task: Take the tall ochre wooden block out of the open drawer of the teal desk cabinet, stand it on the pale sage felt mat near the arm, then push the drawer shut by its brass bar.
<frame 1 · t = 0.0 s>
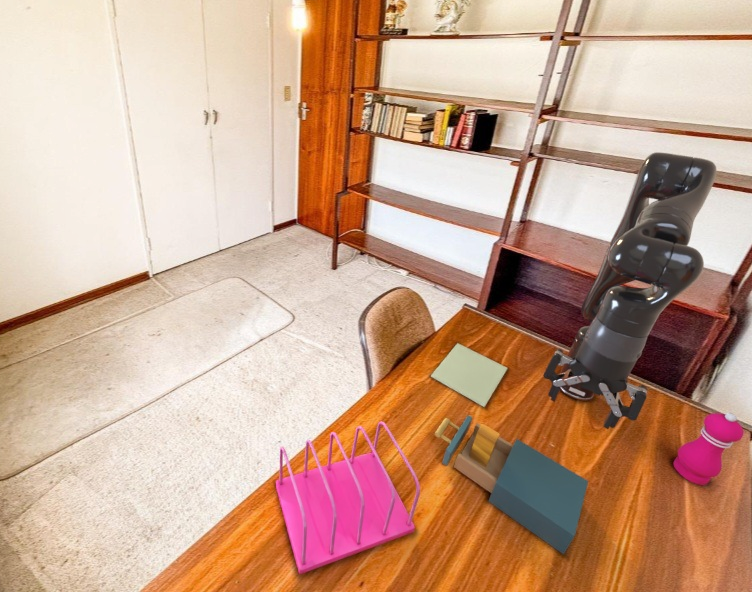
hand: (578, 411, 74), 29 cm above the table, tool pointing down, fingers open, 8 cm apart
mat: (469, 372, 121), on the table
file sorter: (341, 508, 85), on the table
drawer: (474, 450, 95), point 3 cm above the table, slide at 10.0 cm, touching block
cabinet: (533, 500, 88), on the table
block: (479, 458, 94), point 2 cm above the table, touching drawer
pepper mill: (689, 472, 95), on the table
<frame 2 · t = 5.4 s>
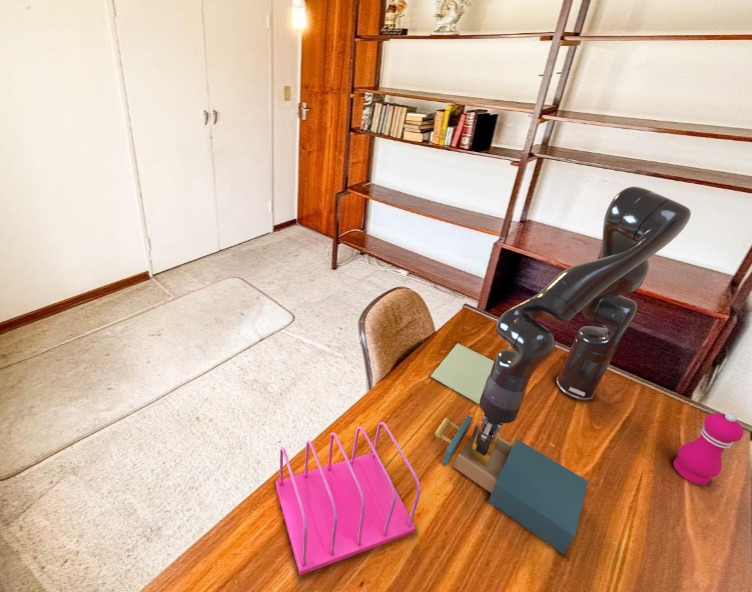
hand: (483, 447, 92), 6 cm above the table, tool pointing down, fingers closed on block, 3 cm apart
block: (479, 457, 94), point 2 cm above the table, touching drawer, gripper
everything else where it was.
when the fingers open (4 cm above the table, at t = 13.5 s): block stays where it is, resting on mat.
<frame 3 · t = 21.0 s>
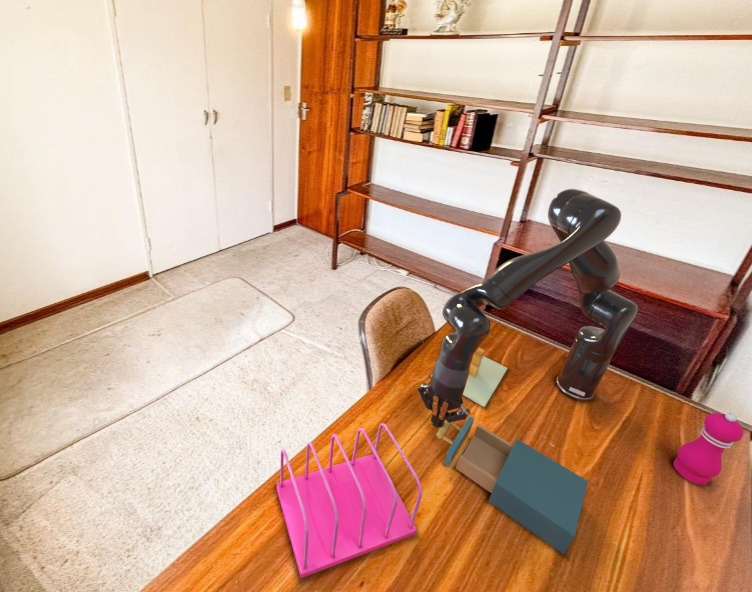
hand: (436, 424, 100), 3 cm above the table, tool pointing down, fingers closed
drawer: (476, 451, 94), point 3 cm above the table, slide at 9.6 cm, touching gripper
block: (469, 371, 121), point 1 cm above the table, touching mat
everything else where it was.
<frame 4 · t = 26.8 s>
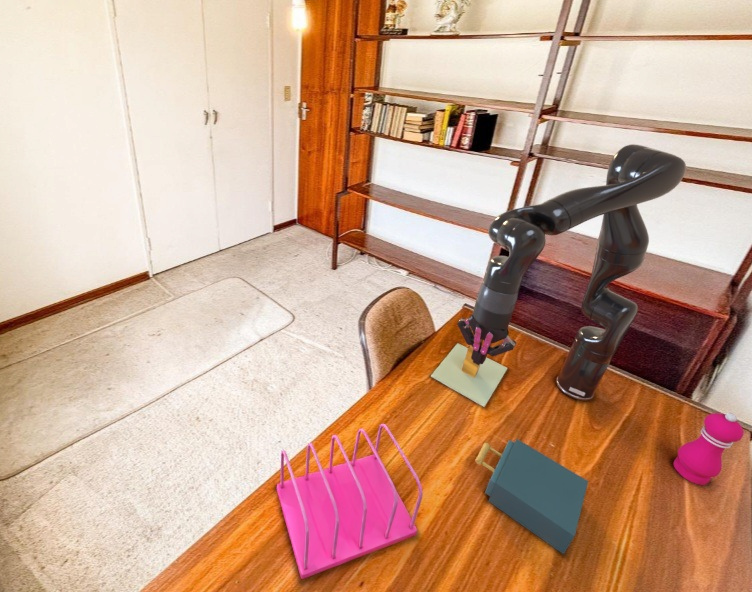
hand: (476, 362, 94), 23 cm above the table, tool pointing down, fingers closed
drawer: (518, 479, 89), point 3 cm above the table, slide at 0.0 cm
everything else where it was.
at the end: block inside the target area on the mat (0.2 cm from its centre), point 0.6 cm above the mat's base; block tilted 0°; drawer slide at 0.0 cm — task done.
